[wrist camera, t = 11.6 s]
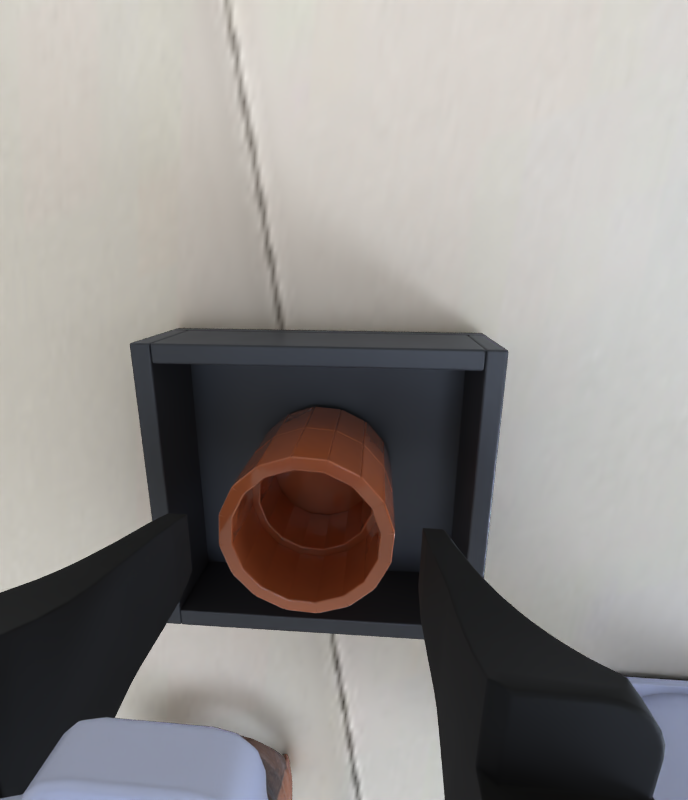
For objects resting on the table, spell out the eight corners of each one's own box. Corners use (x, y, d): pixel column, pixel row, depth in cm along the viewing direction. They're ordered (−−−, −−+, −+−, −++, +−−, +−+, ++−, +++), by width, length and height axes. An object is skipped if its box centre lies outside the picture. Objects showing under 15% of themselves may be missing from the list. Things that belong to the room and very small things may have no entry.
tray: (483, 332, 18) (509, 350, 14) (460, 578, 21) (477, 643, 18) (176, 327, 19) (128, 343, 15) (199, 564, 22) (165, 623, 18)
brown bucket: (367, 387, 18) (362, 436, 13) (405, 505, 20) (415, 592, 14) (242, 424, 19) (190, 484, 14) (287, 534, 21) (255, 627, 15)
